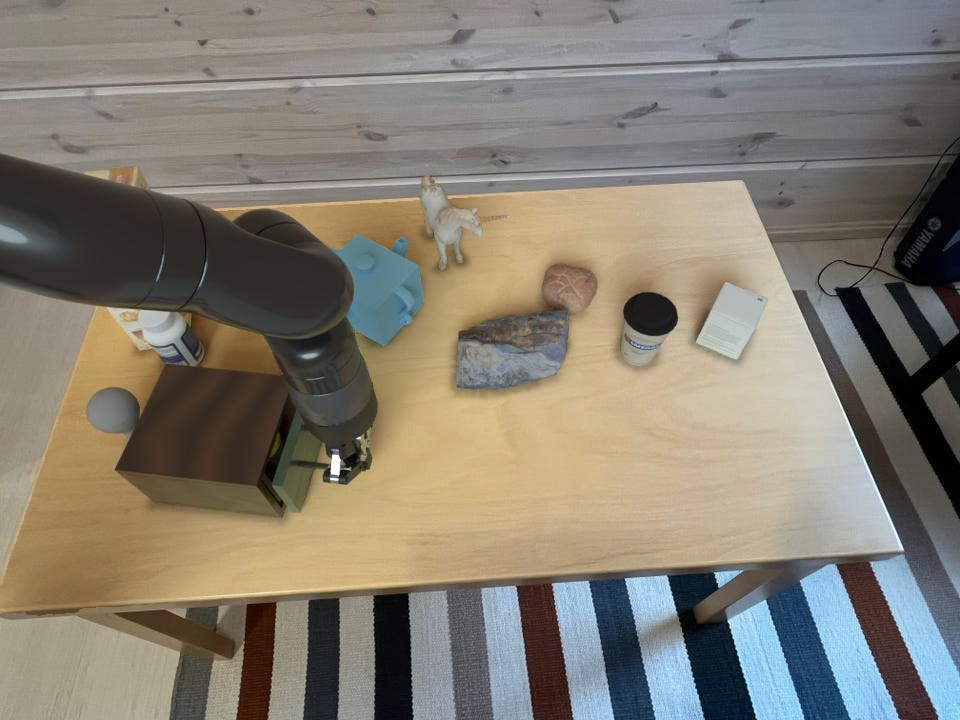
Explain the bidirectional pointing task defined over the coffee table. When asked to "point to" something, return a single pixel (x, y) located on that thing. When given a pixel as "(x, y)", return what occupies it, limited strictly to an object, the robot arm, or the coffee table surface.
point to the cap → (275, 454)
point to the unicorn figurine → (447, 219)
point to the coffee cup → (646, 326)
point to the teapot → (381, 287)
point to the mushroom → (569, 288)
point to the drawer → (294, 461)
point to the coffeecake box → (122, 316)
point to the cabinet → (207, 440)
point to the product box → (732, 320)
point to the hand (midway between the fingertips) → (362, 463)
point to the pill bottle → (171, 337)
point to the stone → (512, 350)
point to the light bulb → (113, 411)
